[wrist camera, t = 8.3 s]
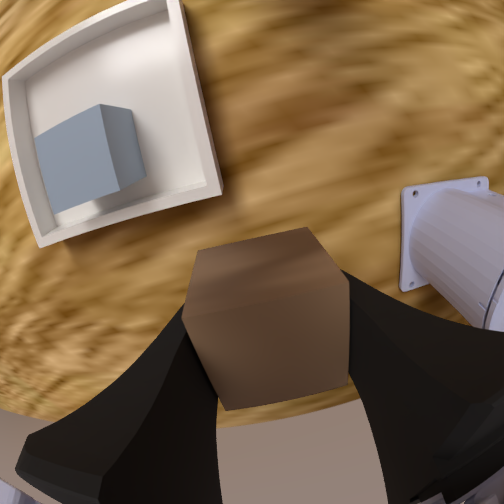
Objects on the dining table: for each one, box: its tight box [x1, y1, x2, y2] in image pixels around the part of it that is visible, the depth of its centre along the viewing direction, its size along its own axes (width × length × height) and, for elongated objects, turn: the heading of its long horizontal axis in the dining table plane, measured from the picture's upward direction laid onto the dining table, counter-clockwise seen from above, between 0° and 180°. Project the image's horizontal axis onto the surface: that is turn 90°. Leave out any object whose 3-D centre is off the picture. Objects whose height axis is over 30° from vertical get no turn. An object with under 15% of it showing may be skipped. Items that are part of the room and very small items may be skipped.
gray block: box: [34, 104, 147, 215], centre depth 12 cm, size 4×4×4 cm
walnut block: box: [182, 227, 350, 411], centre depth 9 cm, size 4×4×4 cm
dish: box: [2, 0, 224, 248], centre depth 12 cm, size 12×12×2 cm
